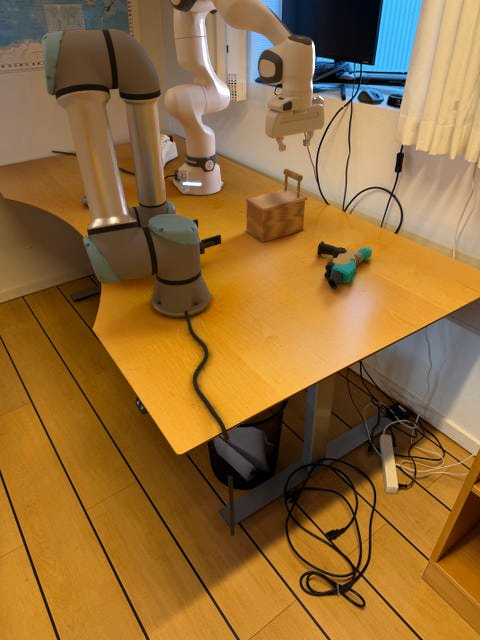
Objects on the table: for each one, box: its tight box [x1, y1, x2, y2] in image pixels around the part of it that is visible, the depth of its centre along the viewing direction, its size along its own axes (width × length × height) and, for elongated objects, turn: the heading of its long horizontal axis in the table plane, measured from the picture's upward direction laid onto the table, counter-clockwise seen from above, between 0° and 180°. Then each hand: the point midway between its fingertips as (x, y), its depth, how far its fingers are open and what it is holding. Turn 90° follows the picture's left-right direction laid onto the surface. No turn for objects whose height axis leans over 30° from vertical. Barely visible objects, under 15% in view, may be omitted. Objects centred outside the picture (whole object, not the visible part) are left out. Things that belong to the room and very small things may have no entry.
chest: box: [246, 200, 306, 243], centre depth 157 cm, size 16×10×10 cm, turn 122°
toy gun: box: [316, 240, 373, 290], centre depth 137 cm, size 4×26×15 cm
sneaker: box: [160, 133, 179, 168], centre depth 214 cm, size 10×29×12 cm, turn 163°
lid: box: [246, 168, 308, 212], centre depth 152 cm, size 17×10×8 cm, turn 122°
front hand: (208, 230), depth 147 cm, fingers open, 13 cm apart
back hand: (294, 148), depth 147 cm, fingers open, 8 cm apart
